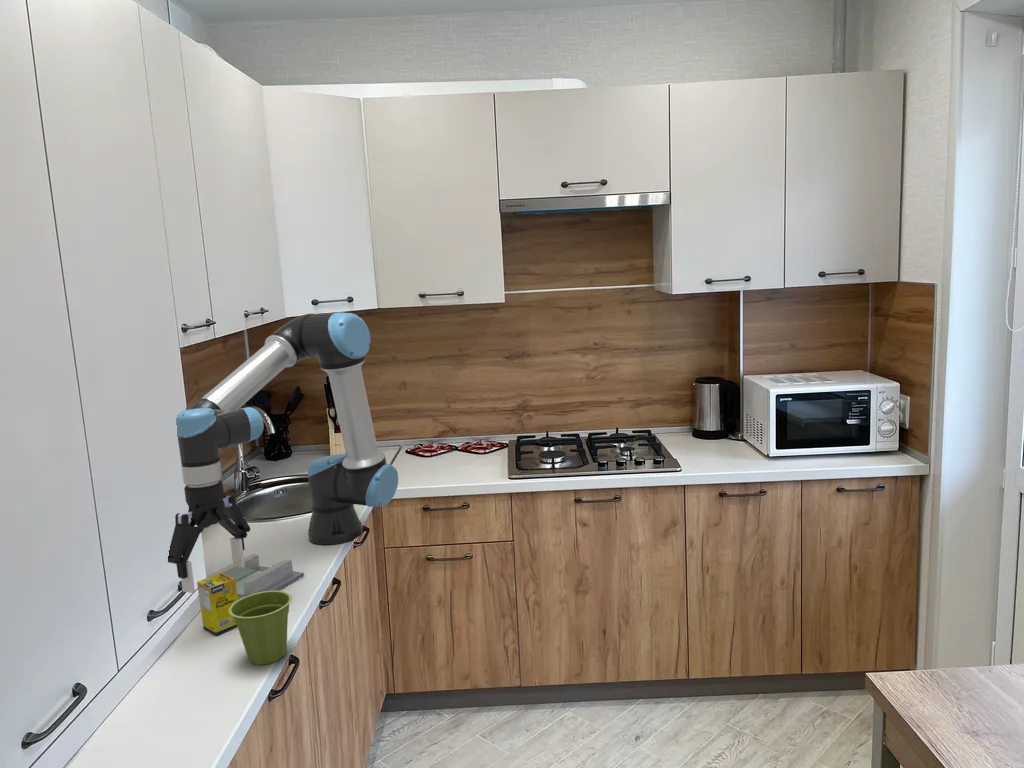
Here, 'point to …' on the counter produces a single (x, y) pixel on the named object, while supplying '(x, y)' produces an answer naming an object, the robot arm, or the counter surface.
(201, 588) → the supplement box
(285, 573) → the docking plate
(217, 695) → the counter surface
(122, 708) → the counter surface
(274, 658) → the plant pot
